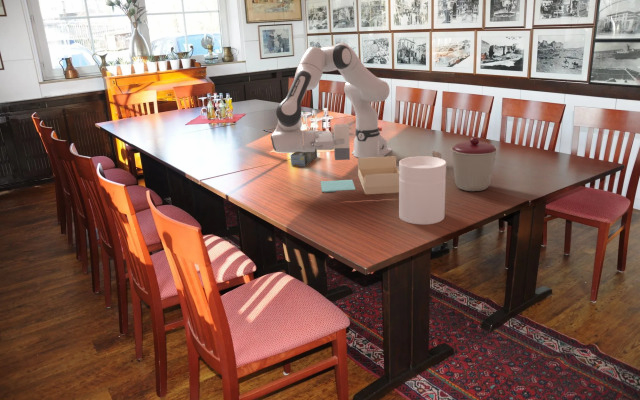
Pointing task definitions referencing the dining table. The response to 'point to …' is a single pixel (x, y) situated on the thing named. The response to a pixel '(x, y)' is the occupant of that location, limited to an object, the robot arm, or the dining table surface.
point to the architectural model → (436, 154)
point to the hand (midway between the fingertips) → (343, 139)
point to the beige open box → (378, 175)
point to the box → (342, 149)
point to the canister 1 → (422, 189)
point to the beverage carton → (303, 158)
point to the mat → (337, 185)
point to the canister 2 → (473, 164)
